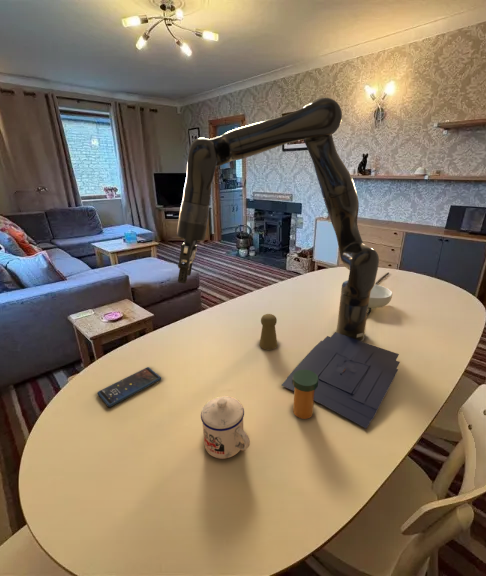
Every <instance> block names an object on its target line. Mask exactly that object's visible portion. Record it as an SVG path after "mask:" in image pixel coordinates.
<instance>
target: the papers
mask: <svg viewBox="0 0 486 576" xmlns="http://www.w3.org/2000/svg"><path fill="white" fill-rule="evenodd" d="M399 355H400V354H399V353H397V352H394V351H391V350H388V349H385V348H382V347H379V346H376V345H373V344H371V343H367V342H364V341H363V342H362V341H359V340H356V339H353V338H351V337H348V336H345V335H342V334H339V333H337V331H335V332H334V333H333V334H332V335H331V336H329V335H326V337H325V338H324V339H322V340H320V341H319V342H318V343H317V344H315V346H314V347H313V348H312V349H311V350H310V351H309V352H308V353H307V354H306V355H305V357H304V358H302V360H301V361H299V363H298V364H297V365H296V366H295V368H293V370H291V372H289V374H288V376H287V377H286V379H285V380H284V381H283V382H282V383H281V387H284V388H286V389H288V390H290V391H292V392H294V389H295V387H294V385H293V384H292V381H293V374H294V373H295V372H296V371H298V370H310V371H312V372H314V373H315V374H316V375H317V376H318V387H317V388H316V389H315V393H314V402H316V403H318V404H320V405H322V406H324V407H326V408H328V409H329V410H331V411H333V412H335V413H337V414H338V415H340V416H342V417H344V418H346V419H348V420H350V421H352V422H353V423H355V424H356V425H359V426H360V427H362V428H364V429H368V427H369V426H370V424H371V422H372V421H373V419H374V418H375V416H376V414H377V412H378V410H379V408H380V406H381V404H382V403H383V401H384V399H385V397H386V396H387V393H388V391H389V389H390V387H391V385H392V383H393V382H394V379H395V377H396V375H397V373H398V371H399V369H398V367H399V365H400V363H401V361H398V360H397V359H398V358H399Z"/></svg>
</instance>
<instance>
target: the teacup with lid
mask: <svg viewBox="0 0 486 576" xmlns="http://www.w3.org/2000/svg"><path fill="white" fill-rule="evenodd" d="M244 418H245V408H244V406H243V404H242V403H241V402H240V400H238V399H237V398H235V397H232V396H230V395H229V396H228V395H221V396H217V397H214V398H213V397H212V398H211V399H210V400H208V401H207V402H206V403H205V404H204V405H203V406H202V409H201V411H200V419H201V422H202V432H203V443H204V448H205V451H206V452H207V453H208V454H209V455H210V456H211V457H213V458H216V459H221V460H225V459H229V458H232V457H234V456H235V455H237V454H238V453H239V452H240V451H246V450H248V448H249V447H250V445H251V440H250V437H249V435H248V434H247V432H246V431H245V430H244Z"/></svg>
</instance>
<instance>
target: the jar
mask: <svg viewBox="0 0 486 576" xmlns="http://www.w3.org/2000/svg"><path fill="white" fill-rule="evenodd" d="M314 393H315V390H313V391H310V392H304V391H300V390H298V389H296V388H295V389H294V391H293V405H292V407H293V408H292V412H293V414H294V415H295V416H296V418H299V419H303V420H304V419H305V420H307V419H310V418H311V417H312V416H313V415H314V414H313V413H314V404H315V401H314Z"/></svg>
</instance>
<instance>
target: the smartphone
mask: <svg viewBox="0 0 486 576" xmlns="http://www.w3.org/2000/svg"><path fill="white" fill-rule="evenodd" d="M161 380H162V377H161V376H160V375H159V374H158V373H156V371H154V370H153V369H152V368H150V366H146V367H145V368H143V369H141V370H139V371H136V372H134V373H133V374H131V375H129V376H126V377H125V378H123V379H120V380H118V381H117V382H115V383H112V384H110V385H109V386H106V387H104V388H103V389H101V390H98V391H97V393H96V394H97V395H98V397H99V398H100V399H101V400H102V401H103V402H104V404H105V405H106V406H107V407H108V408H111V407H114V406H115V405H117V404H119V403H121V402H123V401H124V400H125V399H128V398H130V397H132V396H133V395H136V394H137V393H140V392H141V391H143V390H145V389H146V388H149V387H150V386H152V385H154V384H155V383H156V384H157V382H159V381H161Z"/></svg>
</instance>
